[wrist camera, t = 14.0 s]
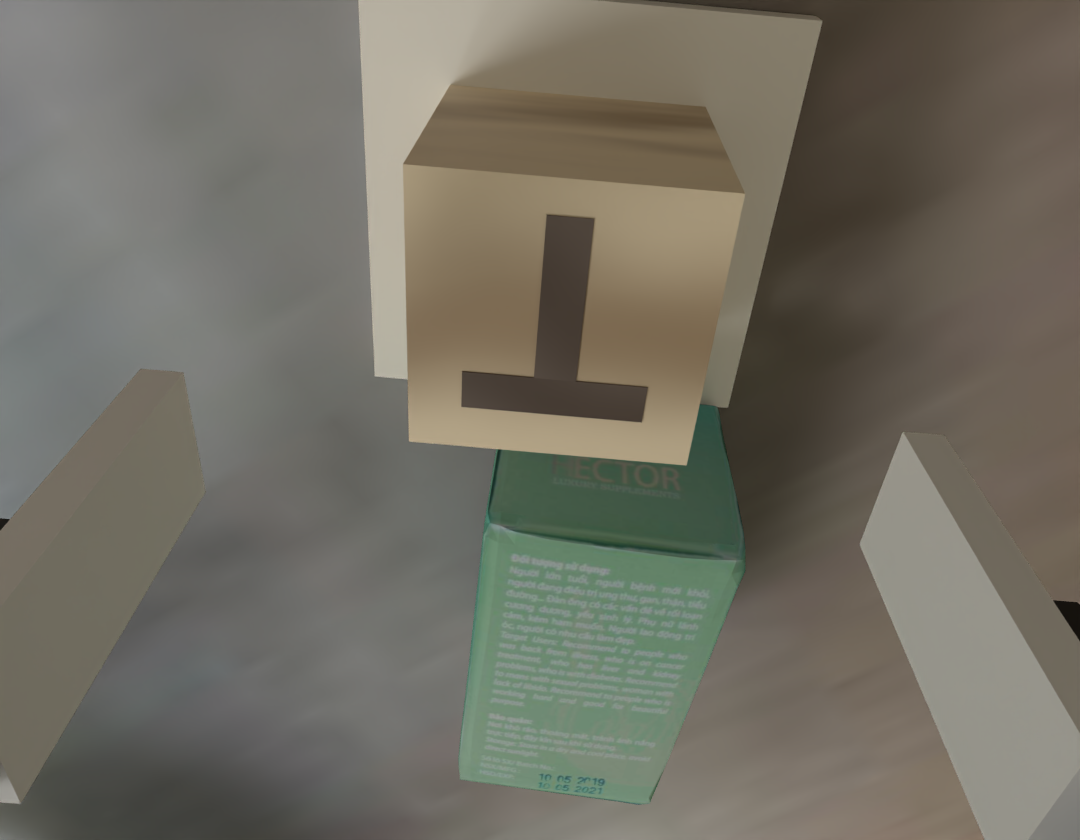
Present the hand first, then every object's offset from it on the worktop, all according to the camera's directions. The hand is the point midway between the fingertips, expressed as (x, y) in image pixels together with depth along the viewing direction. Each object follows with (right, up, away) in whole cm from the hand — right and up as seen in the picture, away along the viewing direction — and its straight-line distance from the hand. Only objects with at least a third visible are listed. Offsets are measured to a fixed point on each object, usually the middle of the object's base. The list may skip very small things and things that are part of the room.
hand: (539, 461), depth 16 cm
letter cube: (+1, +7, +9) cm, 11 cm away
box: (+2, -3, +16) cm, 17 cm away
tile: (+1, +7, +10) cm, 12 cm away
